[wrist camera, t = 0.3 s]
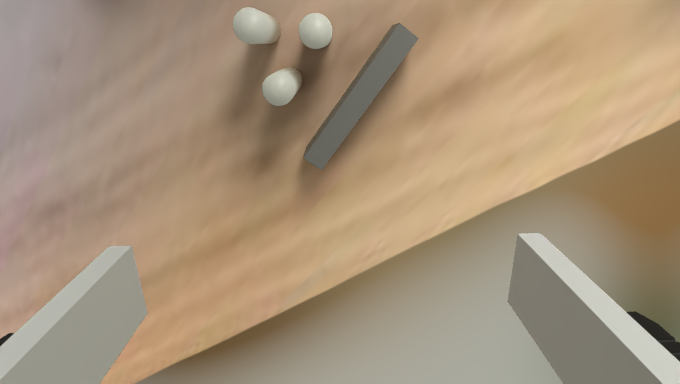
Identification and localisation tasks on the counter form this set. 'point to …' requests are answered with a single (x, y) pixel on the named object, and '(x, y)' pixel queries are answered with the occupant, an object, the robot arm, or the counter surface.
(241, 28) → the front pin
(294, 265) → the counter surface
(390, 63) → the back wall
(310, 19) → the pin
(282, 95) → the pin
